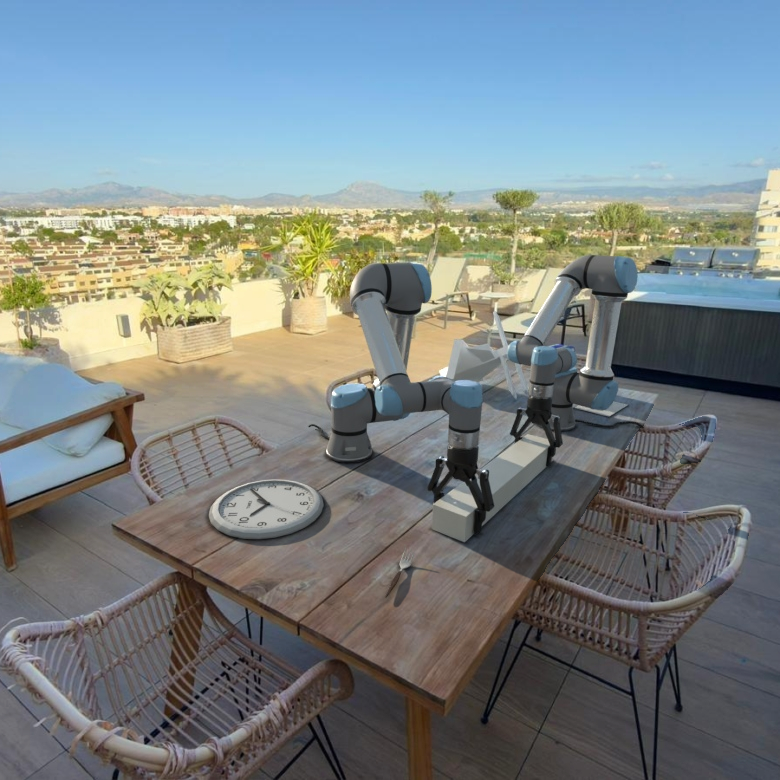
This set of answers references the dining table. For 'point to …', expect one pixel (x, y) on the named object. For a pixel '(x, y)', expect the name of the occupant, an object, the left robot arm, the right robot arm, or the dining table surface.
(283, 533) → the wall clock
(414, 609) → the dining table surface
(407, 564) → the fork
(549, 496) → the dining table surface
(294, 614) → the dining table surface
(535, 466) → the off-white long beam
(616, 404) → the invitation card
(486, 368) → the white plastic object
